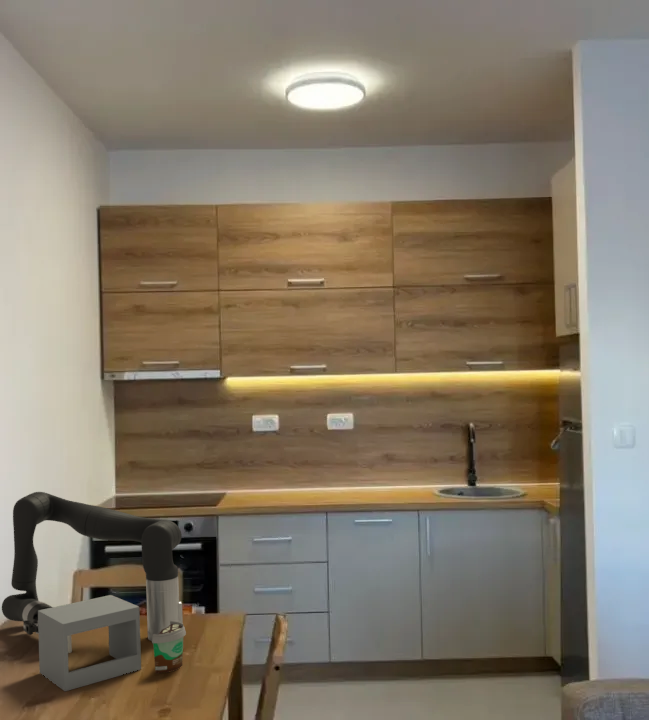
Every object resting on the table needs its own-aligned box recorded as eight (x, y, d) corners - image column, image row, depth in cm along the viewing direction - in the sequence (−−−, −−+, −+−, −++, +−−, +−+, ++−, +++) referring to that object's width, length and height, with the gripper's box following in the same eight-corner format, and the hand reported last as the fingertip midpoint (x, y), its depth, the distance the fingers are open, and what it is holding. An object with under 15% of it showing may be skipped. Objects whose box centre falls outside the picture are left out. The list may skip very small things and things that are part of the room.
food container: (176, 676, 194) (174, 635, 194) (153, 675, 195) (151, 635, 196) (194, 658, 206) (192, 620, 207) (172, 658, 207) (171, 620, 208)
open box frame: (112, 653, 213) (110, 594, 213) (141, 669, 200) (139, 606, 200) (39, 673, 200) (37, 610, 200) (64, 691, 187) (63, 624, 187)
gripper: (14, 608, 223) (34, 619, 210) (63, 598, 232) (85, 608, 220) (15, 634, 223) (35, 647, 210) (63, 623, 232) (86, 635, 219)
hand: (60, 627), depth 215 cm, fingers open, 8 cm apart
